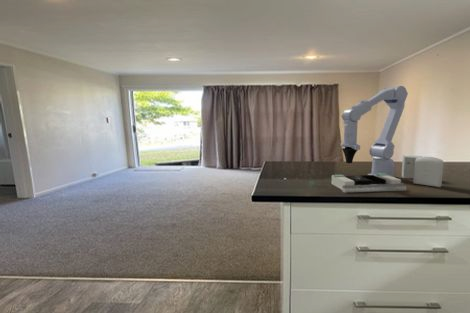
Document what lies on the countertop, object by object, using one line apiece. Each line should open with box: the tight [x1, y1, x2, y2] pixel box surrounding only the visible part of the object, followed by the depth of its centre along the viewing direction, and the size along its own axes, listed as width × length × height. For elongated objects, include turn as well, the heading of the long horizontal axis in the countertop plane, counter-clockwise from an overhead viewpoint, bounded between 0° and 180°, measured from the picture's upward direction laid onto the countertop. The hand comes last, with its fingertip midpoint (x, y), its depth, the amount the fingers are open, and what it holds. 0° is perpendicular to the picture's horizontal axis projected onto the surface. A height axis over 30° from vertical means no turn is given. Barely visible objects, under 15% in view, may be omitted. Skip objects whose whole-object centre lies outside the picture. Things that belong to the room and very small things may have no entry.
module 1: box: [331, 174, 355, 190], centre depth 114 cm, size 4×12×4 cm, turn 5°
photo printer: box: [413, 156, 444, 188], centre depth 116 cm, size 10×4×12 cm, turn 39°
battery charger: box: [345, 174, 386, 185], centre depth 116 cm, size 13×10×4 cm
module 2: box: [374, 173, 402, 184], centre depth 116 cm, size 4×12×4 cm, turn 5°
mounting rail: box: [341, 182, 407, 194], centre depth 108 cm, size 26×2×2 cm, turn 95°
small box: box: [401, 155, 423, 180], centre depth 130 cm, size 8×6×10 cm
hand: (349, 163), depth 128 cm, fingers closed
